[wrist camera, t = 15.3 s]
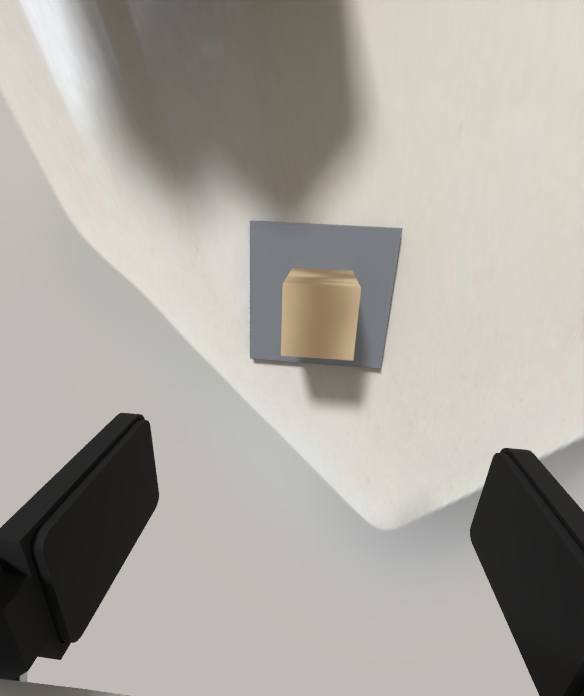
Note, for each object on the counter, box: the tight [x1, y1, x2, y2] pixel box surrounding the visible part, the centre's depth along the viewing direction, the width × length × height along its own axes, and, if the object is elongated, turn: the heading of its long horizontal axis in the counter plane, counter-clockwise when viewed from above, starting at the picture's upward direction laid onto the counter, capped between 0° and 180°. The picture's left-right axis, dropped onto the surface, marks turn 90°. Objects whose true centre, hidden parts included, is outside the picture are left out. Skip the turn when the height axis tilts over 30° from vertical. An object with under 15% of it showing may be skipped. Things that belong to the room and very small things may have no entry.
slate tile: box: [250, 221, 402, 368], centre depth 30 cm, size 12×12×1 cm
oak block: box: [281, 268, 361, 360], centre depth 26 cm, size 5×5×7 cm
